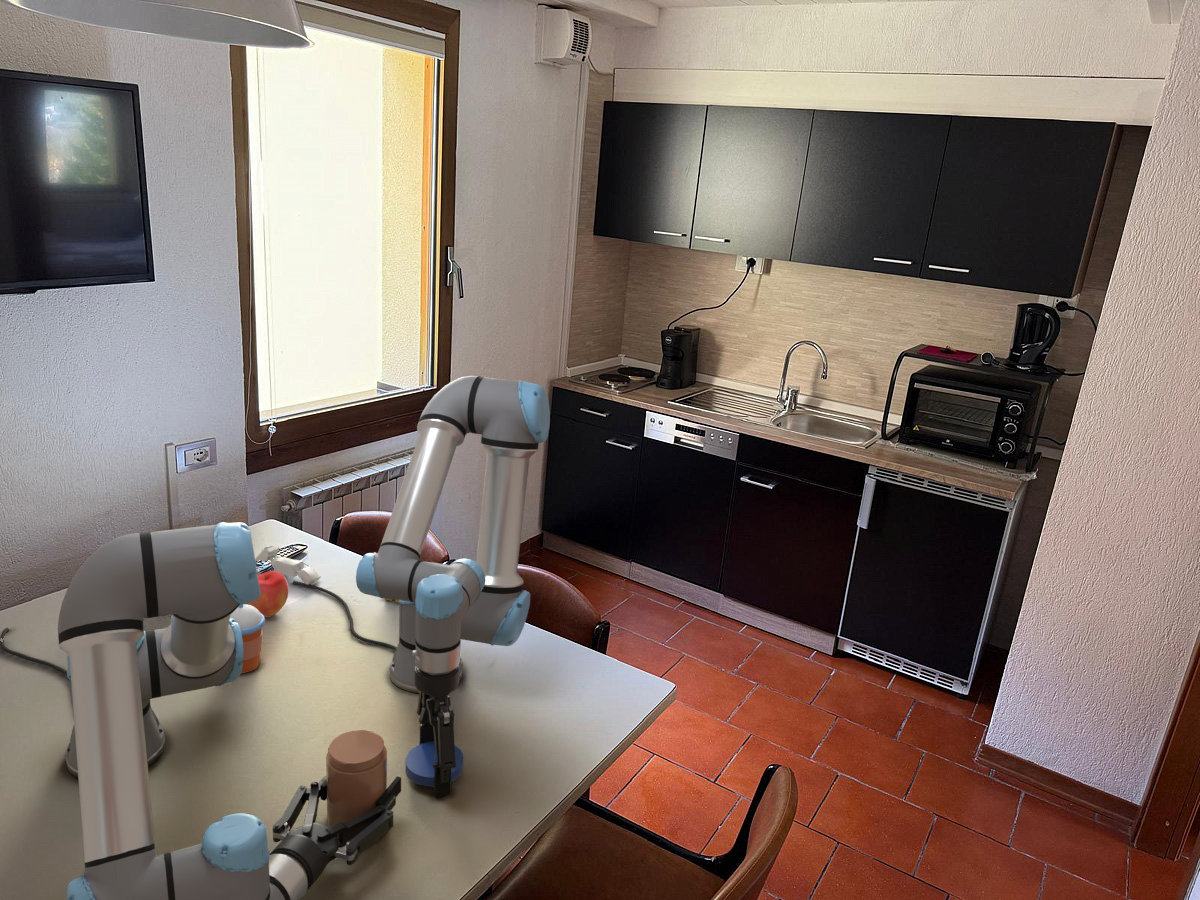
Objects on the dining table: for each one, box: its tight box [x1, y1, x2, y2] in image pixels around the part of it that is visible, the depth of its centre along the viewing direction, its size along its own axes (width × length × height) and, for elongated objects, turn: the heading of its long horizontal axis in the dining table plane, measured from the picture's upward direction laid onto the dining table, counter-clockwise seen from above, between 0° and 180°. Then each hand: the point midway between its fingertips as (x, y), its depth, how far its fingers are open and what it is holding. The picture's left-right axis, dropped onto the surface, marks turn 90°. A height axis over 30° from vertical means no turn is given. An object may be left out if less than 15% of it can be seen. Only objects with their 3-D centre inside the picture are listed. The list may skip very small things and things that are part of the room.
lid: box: [404, 741, 465, 787], centre depth 151 cm, size 10×10×2 cm
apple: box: [247, 570, 289, 618], centre depth 199 cm, size 10×10×10 cm
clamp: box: [255, 544, 322, 585], centre depth 219 cm, size 20×4×7 cm, turn 62°
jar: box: [325, 729, 388, 842], centre depth 137 cm, size 9×9×15 cm
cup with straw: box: [230, 604, 266, 674], centre depth 177 cm, size 9×9×18 cm
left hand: (371, 776), depth 141 cm, fingers closed on jar, 9 cm apart
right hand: (434, 774), depth 152 cm, fingers closed on lid, 10 cm apart
